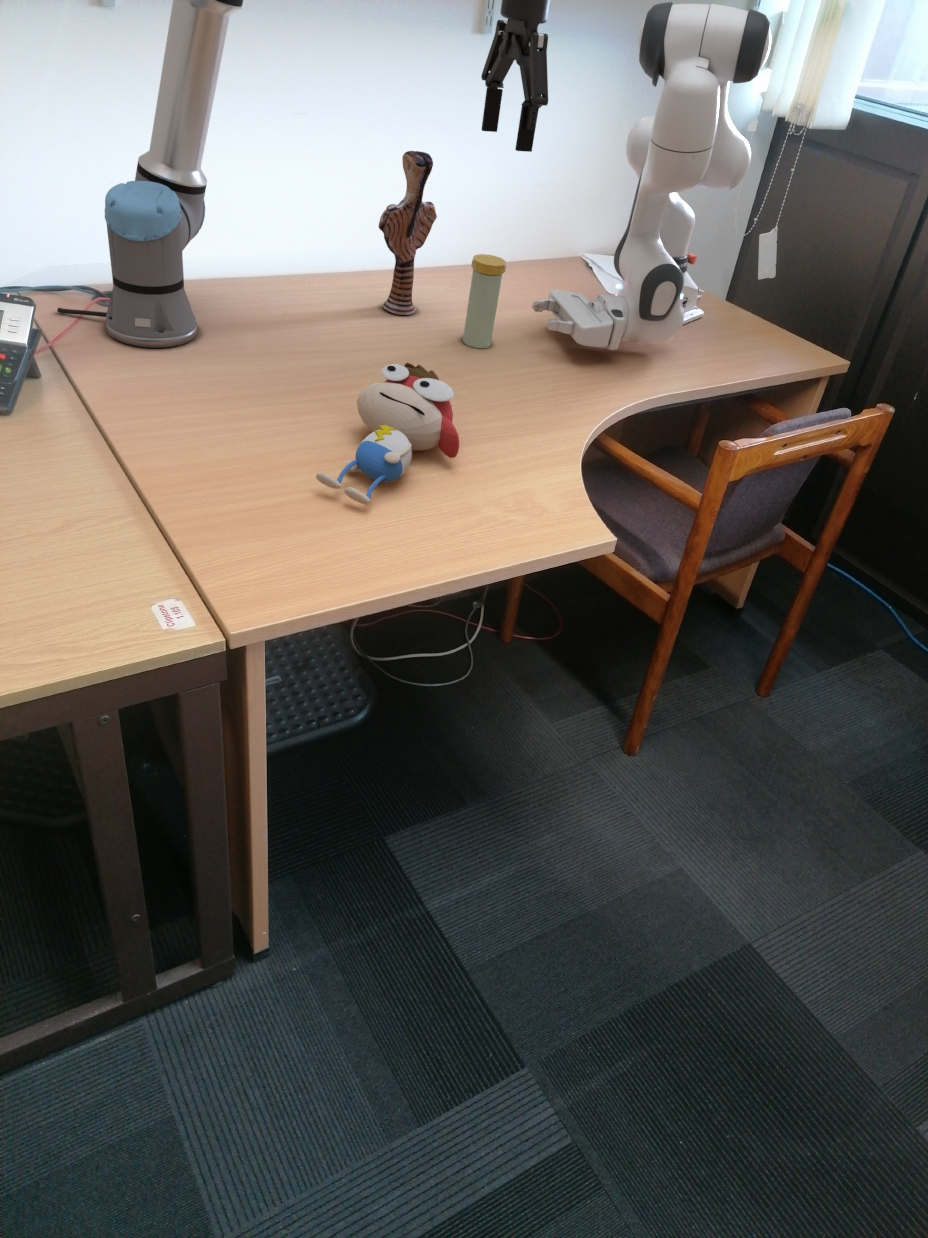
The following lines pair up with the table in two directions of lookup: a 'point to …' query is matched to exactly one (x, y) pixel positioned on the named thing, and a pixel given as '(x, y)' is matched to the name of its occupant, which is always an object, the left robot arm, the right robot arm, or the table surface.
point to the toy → (399, 425)
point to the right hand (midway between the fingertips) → (540, 314)
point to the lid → (488, 264)
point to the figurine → (407, 230)
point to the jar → (481, 309)
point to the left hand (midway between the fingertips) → (505, 140)
